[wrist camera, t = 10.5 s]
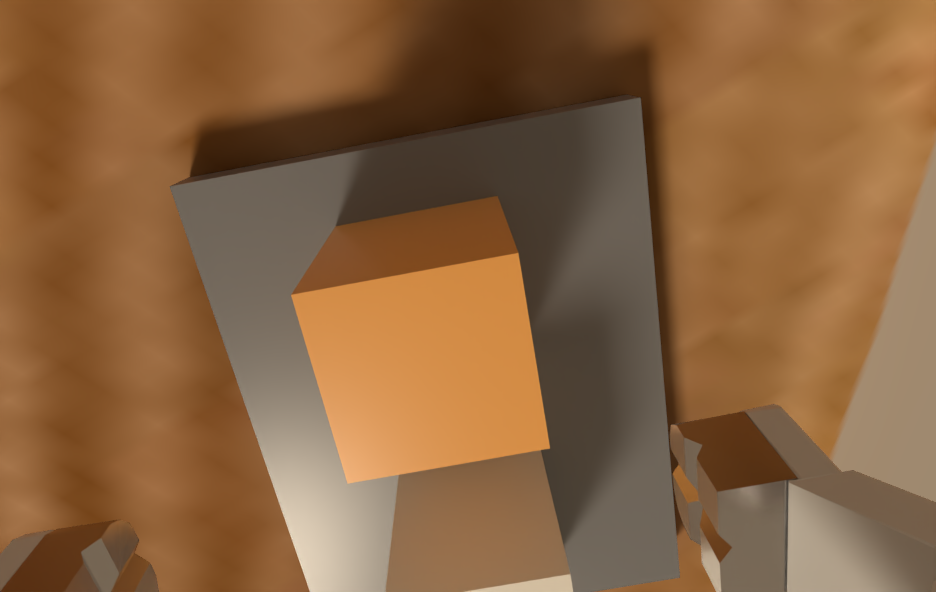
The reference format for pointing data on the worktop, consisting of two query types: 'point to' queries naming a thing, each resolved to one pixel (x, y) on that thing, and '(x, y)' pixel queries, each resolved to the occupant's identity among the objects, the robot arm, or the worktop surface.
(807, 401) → the worktop surface
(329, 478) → the plate
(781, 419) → the robot arm
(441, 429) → the orange matte cube
